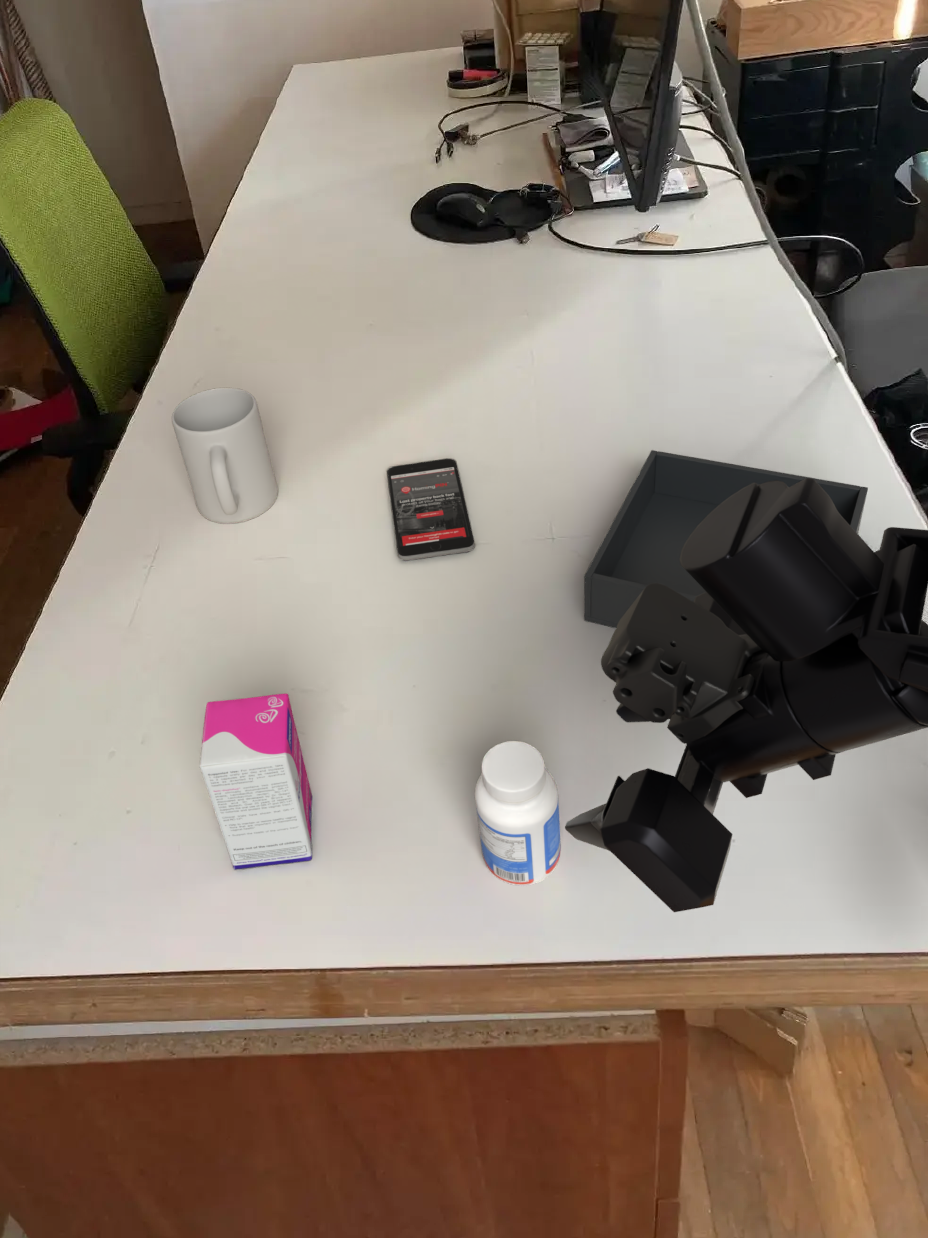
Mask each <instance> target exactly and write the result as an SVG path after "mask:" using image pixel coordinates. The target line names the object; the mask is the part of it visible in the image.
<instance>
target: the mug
mask: <svg viewBox="0 0 928 1238" xmlns="http://www.w3.org/2000/svg"><path fill="white" fill-rule="evenodd" d="M171 424H172V427H173V431H174V435H175V438H176V441H177V445H178V448H179V451H180V455H181V457H182V460H183V464H184V467H185V470H186V474H187V477H188V480H189V484H190V487H191V490H192V495H193V499H194V502H195V505H196V508H197V510H198V512H199V514H200V515H201V516H202V517H203V518H204V519H207V520H208V521H210V522H212V523H217V524H223V525H225V524H226V525H230V524H233V525H234V524H239V523H244V522H247V521H250V520H253V519H255V518H258V517H260V516H262V515H263V514H264V513H266V512H267V511H268V510H270V509H271V508H272V507H273V506H274V504H275V502H276V500H277V499H278V494H279V487H278V483H277V479H276V475H275V471H274V467H273V464H272V460H271V456H270V452H269V447H268V443H267V439H266V435H265V431H264V427H263V422H262V418H261V413H260V409H259V406H258V402H257V399H256V397H255V396H254V395H253V394H252V393H251V392H249V391H247V390H245V389H243V388H242V389H241V388H238V387H215V388H209V389H206V390H202V391H200V392H196V393H194V394H192V395H190V396H187V398H185V399H183V400H182V401H181V402H180V403H178V404H177V406H176V407H175V408H174V410H173V411H172V413H171Z"/></svg>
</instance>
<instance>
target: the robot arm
mask: <svg viewBox="0 0 928 1238" xmlns="http://www.w3.org/2000/svg"><path fill="white" fill-rule="evenodd" d="M811 478H812V477H810V478H806V479H804V480H802V481H800V482H798V483H796V484H795V485H793V486H791V487H788V486H787V485H786V484H785V483H784V482H782V481H778V480H776V481H768V482H765V483H762V484H759V485H757V483H755V482H754V483H752V484H750V485H748V486H746V487H744V488H742V489H741V490H739V491H738V492H736V493H734V494H733V495H731V496H730V497H729V498H727V499H726V500H725V501H723V502H722V503H721V504H720V505H718V506H717V507H716V508H715V509H714V510H713V511H712V512H710V513H709V514H708V515H707V516H706V517H705V518H704V519H703V521H702V522H701V523H700V524H699V525H698V526H697V527H696V528H695V530H694V531H693V532H692V533H691V535H690V536H689V538H688V539H687V541H686V543H685V544H684V546H683V548H682V551H681V555H680V563H681V566H682V567H683V568H684V569H685V570H686V571H687V572H688V573H689V574H690V575H691V576H692V577H693V578H694V579H695V580H696V581H697V582H698V583H699V585H700V586H701V587H702V588H703V589H704V590H705V591H706V592H705V593H702V594H700V595H698V596H696V597H695V600H694V602H693V601H691V600H689V599H688V598H686V597H684V596H683V595H681V594H679V593H678V592H676V591H674V590H672V589H671V588H669V587H667V586H666V585H663V584H660V583H651V584H649V585H647V586H646V587H645V588H644V590H643V591H642V592H641V594H640V595H639V596H638V597H637V599H636V600H635V601H634V603H633V604H632V605H631V606H630V608H629V609H628V610H627V611H626V613H625V614H624V615H623V617H622V618H621V619H620V621H619V622H618V624H617V628H615V630H614V631H613V634H612V636H611V638H610V641H609V643H608V644H607V646H606V649H605V650H604V652H603V654H602V656H601V659H600V666H601V670H602V671H603V673H604V674H605V675H606V676H607V678H609V679H610V680H611V681H613V682H614V683H615V685H614V687H613V689H612V694H613V697H614V699H615V700H616V702H617V703H619V705H618V706H617V707H616V710H615V713H616V715H618V716H619V718H620V719H622V721H624V722H625V723H655V724H663V723H666V722H667V721H668V720H669V721H668V723H667V726H666V728H667V729H668V730H669V731H670V733H671V734H672V735H674V736H675V737H676V738H677V739H678V740H679V742H681V744H686V745H685V747H684V751H683V753H682V754H681V758H680V761H679V764H678V766H677V769H676V772H675V775H672V774H669V773H666V772H662V771H659V770H655V769H652V768H650V767H649V768H648V767H647V768H644V769H640V770H638V771H635V772H632V773H631V774H630V775H629V776H628V777H627V778H626V779H625V780H624V778H622V776H620V775H617V777H616V779H615V782H614V784H613V786H612V789H611V791H610V794H609V795H608V798H607V801H606V803H604V804H601V805H598V806H597V807H594V808H591V809H589V810H586V811H585V812H582V813H580V814H578V815H576V816H575V817H573V818H571V819H569V820H568V821H566V823H565V826H564V829H565V831H567V833H569V834H570V835H571V836H572V837H573V838H574V839H575V840H578V841H579V842H583V843H586V844H589V845H591V846H594V847H597V848H601V849H603V850H606V851H609V852H610V853H612V855H614V857H615V858H616V859H618V861H620V862H621V863H622V864H623V866H625V868H627V869H628V870H629V871H630V872H631V873H632V874H633V875H634V876H635V877H636V878H637V879H639V881H640V882H641V883H643V885H644V886H646V887H647V888H648V889H649V891H651V892H652V893H653V894H654V895H655V896H656V897H657V898H658V899H659V900H660V901H662V903H664V904H665V906H667V908H669V910H671V911H672V912H673V913H678V912H684V911H690V910H694V909H700V908H706V907H711V906H714V904H715V901H716V897H717V894H718V891H719V887H720V884H721V880H722V877H723V874H724V871H725V867H726V864H727V860H728V857H729V854H730V850H731V845H732V840H733V839H732V838H733V833H732V832H731V831H730V830H729V829H728V828H727V827H726V826H725V824H723V823H722V822H721V821H720V820H719V819H718V818H717V817H716V816H715V815H714V812H715V809H716V806H717V803H718V801H719V797H720V794H721V791H722V788H723V784H724V783H727V782H729V783H730V784H731V785H732V786H733V787H735V789H736V790H738V791H739V793H740V794H742V796H743V797H744V798H745V799H747V798H751V797H756V796H759V795H762V794H763V792H764V787H765V784H766V781H767V777H768V774H771V773H774V772H777V771H778V772H779V771H782V770H785V769H788V768H792V767H795V766H799V767H800V768H801V769H802V770H803V771H804V772H805V773H806V774H807V775H808V777H810V779H812V780H813V781H815V780H818V779H822V778H827V777H830V776H832V772H833V768H834V764H835V760H836V755H837V754H840V753H841V754H842V753H845V752H847V751H851V750H854V749H857V748H861V747H864V746H867V745H871V744H875V743H878V742H882V741H885V740H889V739H893V738H896V737H900V736H902V735H903V736H904V735H906V734H910V733H914V732H917V731H921V730H925V729H927V728H928V623H927V622H925V621H924V620H923V616H924V610H925V605H926V599H927V593H928V529H920V528H918V529H917V528H908V527H898V526H897V527H896V526H889V527H887V528H886V529H884V530H883V533H882V537H881V542H880V546H879V549H878V550H876V551H874V550H873V549H872V548H871V547H870V546H869V545H868V544H867V542H866V541H865V540H864V539H863V538H862V537H861V536H860V534H859V533H858V534H857V533H856V532H855V531H854V529H853V528H852V527H851V526H850V525H849V524H848V523H847V522H846V521H845V519H844V518H843V517H842V516H841V515H840V514H839V512H838V511H837V509H836V507H835V505H834V503H833V501H832V499H831V498H830V497H829V495H828V494H827V493H826V492H825V491H824V490H823V489H822V487H821V486H820V485H819V484H818V483H817V482H816V481H815V480H814V479H811Z"/></svg>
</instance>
